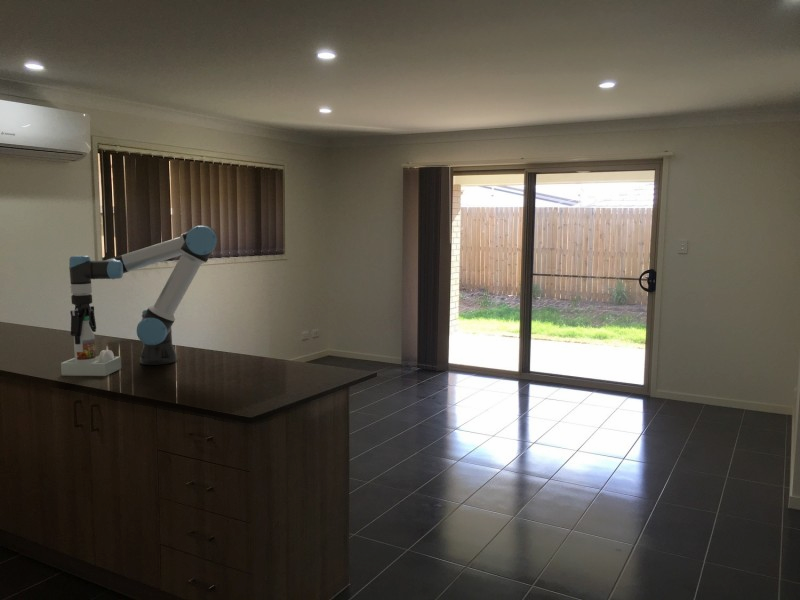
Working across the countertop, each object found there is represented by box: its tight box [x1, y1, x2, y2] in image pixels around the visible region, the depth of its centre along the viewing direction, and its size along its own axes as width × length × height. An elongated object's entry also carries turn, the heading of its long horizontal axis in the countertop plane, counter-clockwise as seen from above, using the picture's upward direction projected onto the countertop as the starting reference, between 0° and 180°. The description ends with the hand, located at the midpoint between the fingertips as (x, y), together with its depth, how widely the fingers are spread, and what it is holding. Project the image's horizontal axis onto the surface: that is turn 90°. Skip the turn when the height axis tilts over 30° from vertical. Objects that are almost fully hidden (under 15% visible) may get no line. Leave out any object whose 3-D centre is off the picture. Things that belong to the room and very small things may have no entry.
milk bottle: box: [73, 316, 97, 363], centre depth 264 cm, size 8×8×20 cm
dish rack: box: [60, 349, 122, 377], centre depth 265 cm, size 13×18×9 cm
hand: (85, 349), depth 264 cm, fingers open, 8 cm apart
